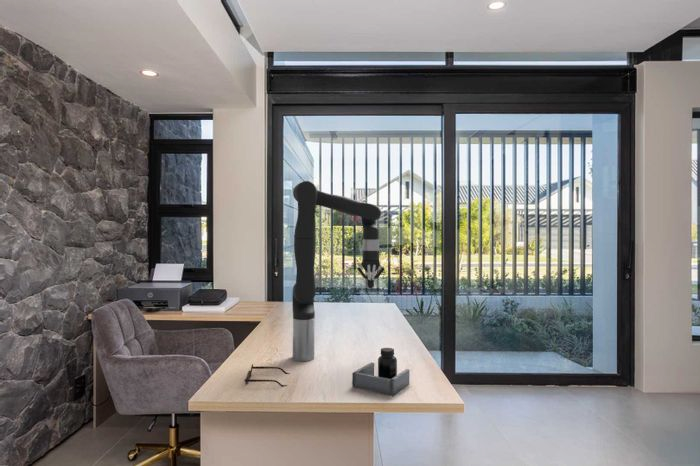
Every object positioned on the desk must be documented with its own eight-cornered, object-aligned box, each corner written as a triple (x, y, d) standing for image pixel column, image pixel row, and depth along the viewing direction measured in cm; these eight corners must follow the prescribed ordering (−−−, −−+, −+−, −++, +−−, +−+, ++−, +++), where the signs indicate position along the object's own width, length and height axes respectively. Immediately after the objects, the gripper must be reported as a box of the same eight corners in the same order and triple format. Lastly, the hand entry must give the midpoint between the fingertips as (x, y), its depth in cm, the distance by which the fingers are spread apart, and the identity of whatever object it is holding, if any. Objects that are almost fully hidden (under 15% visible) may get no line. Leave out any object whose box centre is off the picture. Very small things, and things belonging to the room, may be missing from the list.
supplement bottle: (395, 379, 156) (395, 346, 156) (398, 385, 149) (398, 351, 149) (376, 379, 155) (376, 346, 155) (379, 386, 149) (379, 352, 149)
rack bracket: (371, 375, 159) (371, 362, 159) (409, 383, 152) (409, 369, 152) (352, 387, 147) (352, 372, 147) (392, 396, 140) (392, 380, 140)
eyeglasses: (251, 374, 161) (251, 361, 161) (290, 374, 162) (290, 361, 162) (244, 388, 146) (244, 374, 146) (287, 388, 147) (287, 373, 148)
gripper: (357, 249, 186) (357, 289, 186) (387, 250, 188) (386, 289, 188) (354, 249, 194) (354, 287, 194) (383, 249, 196) (382, 286, 196)
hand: (370, 288), depth 191 cm, fingers closed
